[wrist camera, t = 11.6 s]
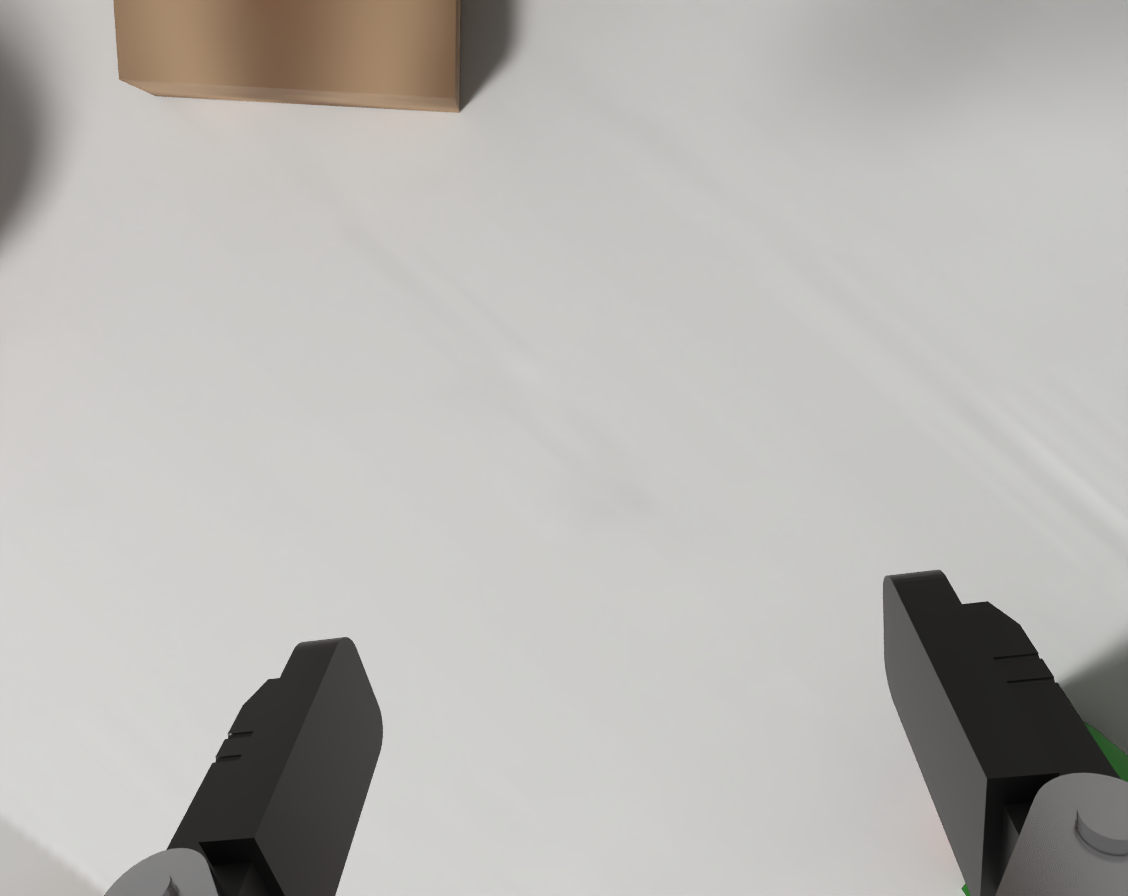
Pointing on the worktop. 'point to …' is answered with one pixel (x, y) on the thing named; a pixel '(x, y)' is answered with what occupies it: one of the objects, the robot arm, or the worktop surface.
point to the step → (294, 51)
